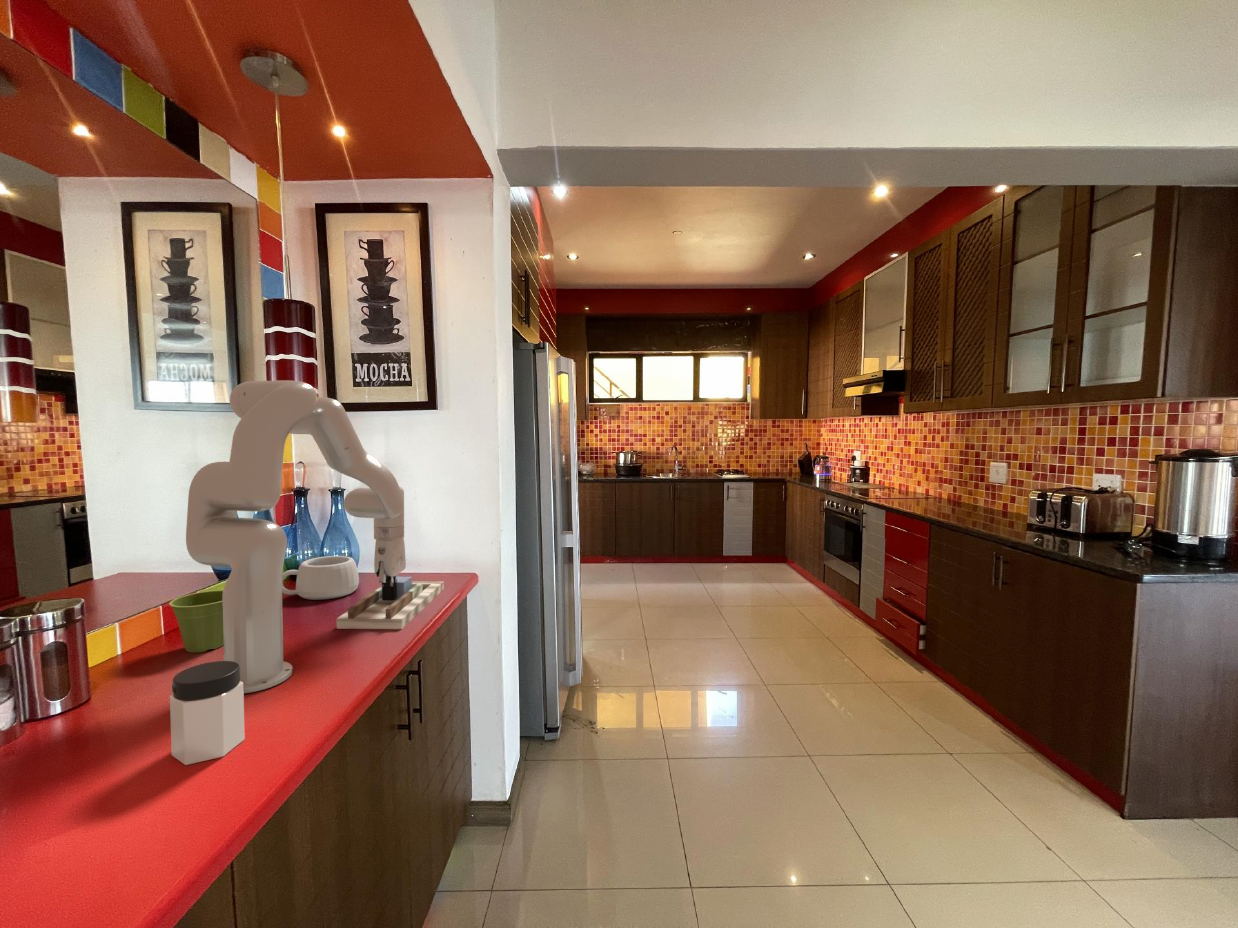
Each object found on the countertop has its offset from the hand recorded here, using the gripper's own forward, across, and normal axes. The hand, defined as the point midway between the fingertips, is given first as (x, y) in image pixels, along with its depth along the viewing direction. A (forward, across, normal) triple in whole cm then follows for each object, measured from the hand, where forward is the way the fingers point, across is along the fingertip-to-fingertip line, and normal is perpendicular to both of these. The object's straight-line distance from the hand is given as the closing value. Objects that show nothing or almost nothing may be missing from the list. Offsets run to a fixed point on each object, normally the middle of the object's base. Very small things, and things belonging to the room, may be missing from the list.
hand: (389, 599), depth 144 cm
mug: (+4, +15, +27) cm, 31 cm away
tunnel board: (+3, +5, 0) cm, 6 cm away
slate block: (+1, +6, 0) cm, 6 cm away
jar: (+4, -63, +2) cm, 63 cm away
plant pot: (+4, -24, +31) cm, 40 cm away
